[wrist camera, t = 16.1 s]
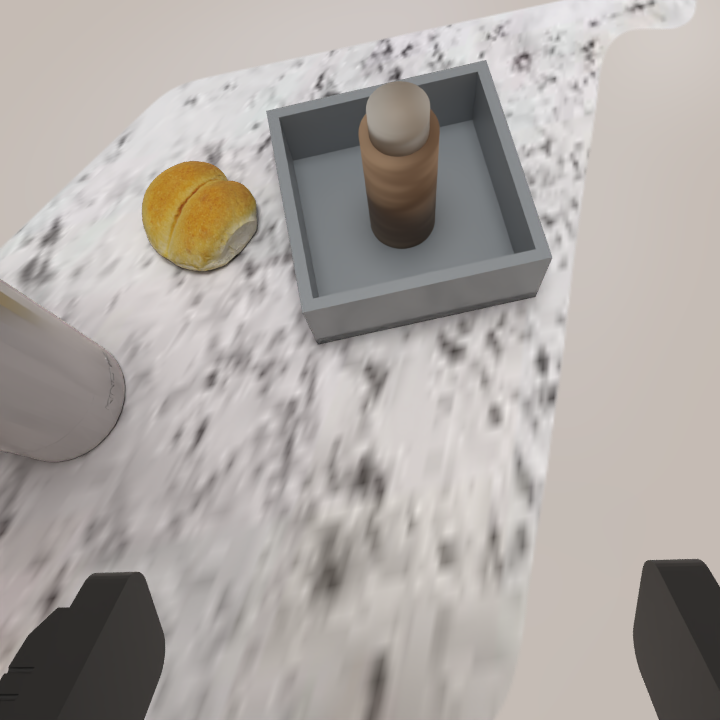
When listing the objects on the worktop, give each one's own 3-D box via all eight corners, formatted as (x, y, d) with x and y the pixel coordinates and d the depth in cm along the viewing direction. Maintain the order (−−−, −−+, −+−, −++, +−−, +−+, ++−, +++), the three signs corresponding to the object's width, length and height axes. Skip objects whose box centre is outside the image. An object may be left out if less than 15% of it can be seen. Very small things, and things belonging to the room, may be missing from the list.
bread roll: (197, 160, 51) (178, 128, 47) (277, 215, 48) (264, 186, 45) (128, 232, 49) (103, 205, 46) (207, 293, 47) (188, 269, 43)
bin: (317, 344, 44) (302, 312, 39) (284, 162, 50) (266, 111, 44) (535, 296, 44) (552, 257, 38) (478, 117, 49) (485, 60, 43)
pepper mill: (377, 254, 45) (364, 151, 34) (365, 199, 47) (348, 82, 35) (441, 241, 45) (449, 132, 34) (427, 186, 46) (430, 65, 35)
